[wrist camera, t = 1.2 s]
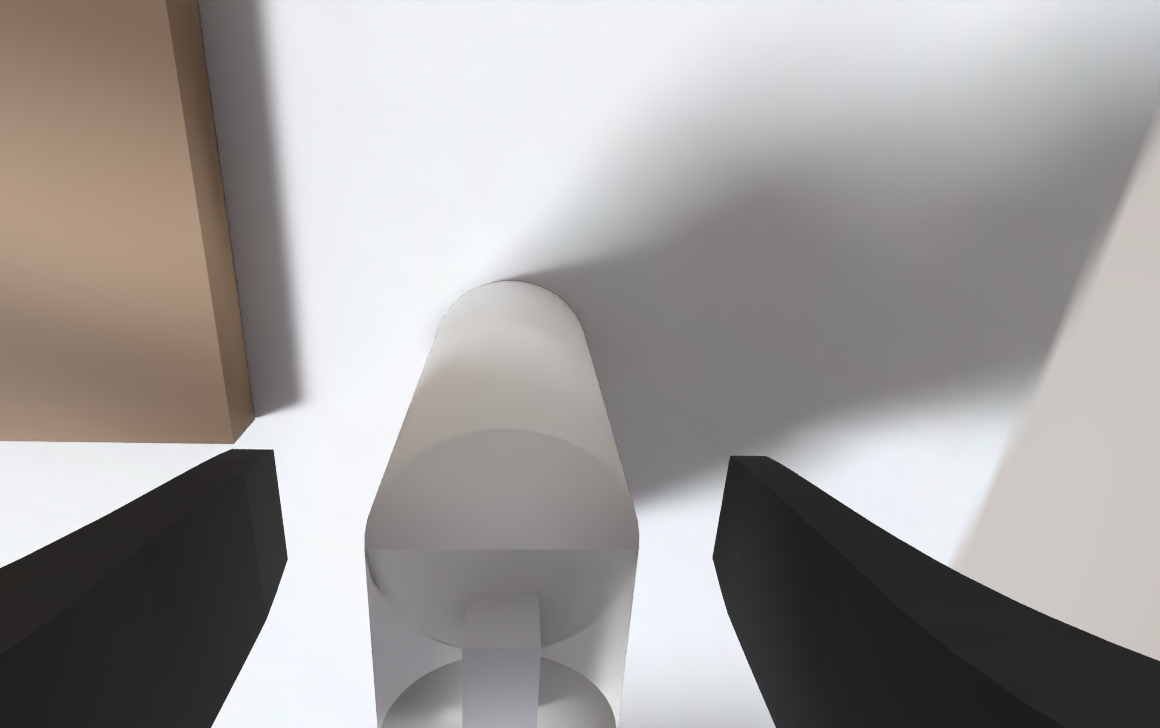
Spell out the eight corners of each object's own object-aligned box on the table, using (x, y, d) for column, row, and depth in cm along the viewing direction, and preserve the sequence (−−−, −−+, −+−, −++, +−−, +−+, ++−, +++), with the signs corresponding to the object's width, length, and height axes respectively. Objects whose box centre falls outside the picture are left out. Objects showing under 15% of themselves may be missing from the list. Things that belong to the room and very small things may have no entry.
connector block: (573, 543, 14) (615, 881, 8) (438, 543, 14) (372, 894, 8) (592, 283, 12) (669, 471, 6) (432, 277, 12) (333, 468, 6)
